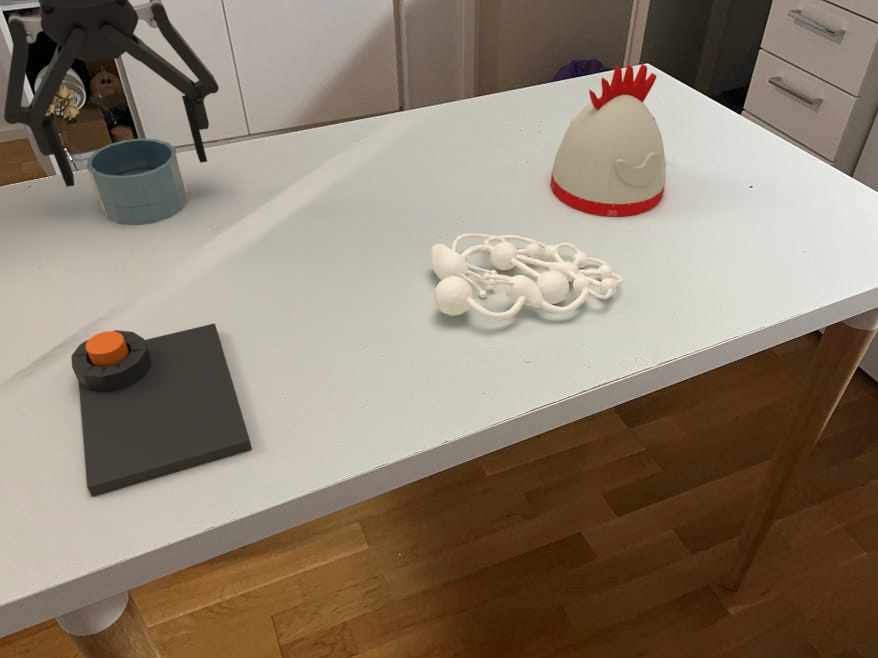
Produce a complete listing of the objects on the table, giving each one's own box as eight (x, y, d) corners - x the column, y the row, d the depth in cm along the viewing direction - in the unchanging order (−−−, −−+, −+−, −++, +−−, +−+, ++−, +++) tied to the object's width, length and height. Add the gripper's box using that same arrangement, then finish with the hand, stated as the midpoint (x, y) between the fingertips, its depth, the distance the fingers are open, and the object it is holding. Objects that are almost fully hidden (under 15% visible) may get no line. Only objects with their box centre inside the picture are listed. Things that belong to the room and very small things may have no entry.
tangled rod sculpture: (599, 253, 85) (605, 219, 82) (634, 325, 73) (642, 289, 71) (427, 255, 83) (427, 221, 80) (436, 331, 71) (436, 294, 69)
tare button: (90, 349, 65) (84, 336, 64) (127, 341, 66) (121, 327, 65) (92, 371, 63) (86, 357, 62) (130, 362, 64) (125, 348, 63)
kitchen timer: (684, 204, 91) (713, 81, 81) (584, 225, 87) (601, 98, 77) (625, 154, 101) (644, 38, 90) (532, 171, 96) (541, 51, 86)
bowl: (90, 225, 85) (68, 164, 80) (151, 190, 91) (133, 131, 86) (150, 247, 82) (130, 185, 77) (208, 210, 88) (193, 150, 83)
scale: (80, 365, 68) (69, 340, 66) (217, 332, 71) (210, 307, 69) (92, 497, 57) (78, 472, 55) (252, 450, 61) (245, 424, 59)
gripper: (-96, -22, 61) (10, 207, 75) (217, -51, 69) (259, 162, 83) (-87, -45, 66) (11, 174, 81) (204, -70, 74) (246, 134, 88)
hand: (137, 168), depth 82 cm, fingers open, 13 cm apart
